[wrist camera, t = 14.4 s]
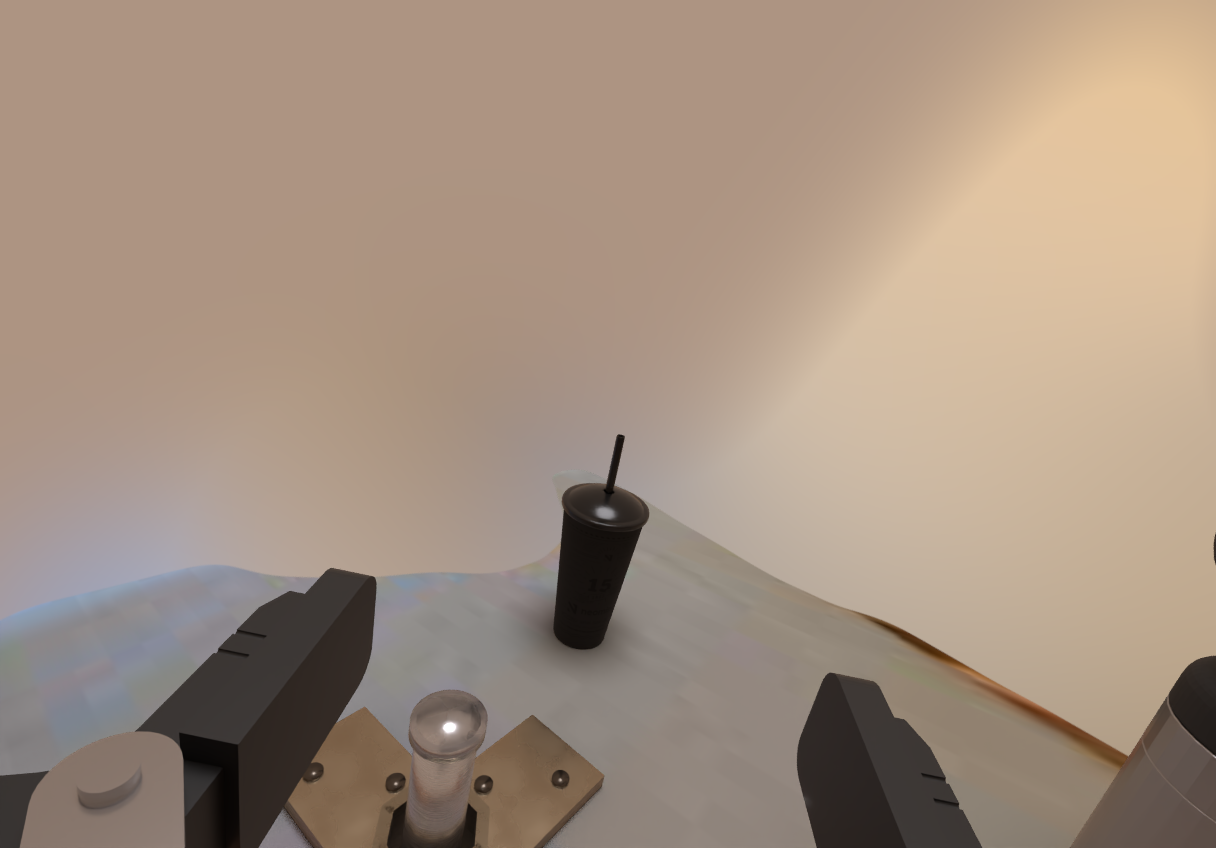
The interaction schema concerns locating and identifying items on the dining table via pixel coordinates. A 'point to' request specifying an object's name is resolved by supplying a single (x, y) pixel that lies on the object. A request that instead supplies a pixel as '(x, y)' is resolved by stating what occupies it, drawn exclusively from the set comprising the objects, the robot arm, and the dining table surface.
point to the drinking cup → (595, 555)
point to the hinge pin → (442, 767)
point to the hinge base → (498, 801)
